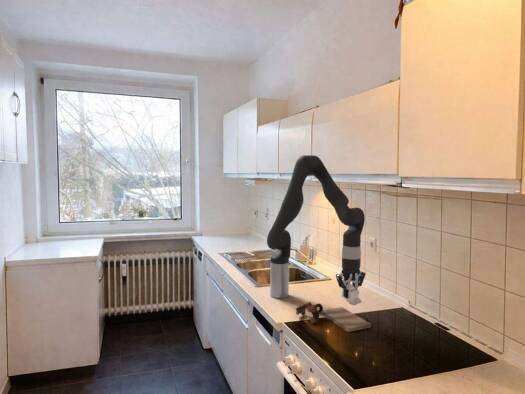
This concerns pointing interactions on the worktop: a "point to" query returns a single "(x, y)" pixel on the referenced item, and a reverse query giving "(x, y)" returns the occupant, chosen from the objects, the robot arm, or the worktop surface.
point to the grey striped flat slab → (345, 319)
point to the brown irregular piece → (311, 309)
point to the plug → (352, 295)
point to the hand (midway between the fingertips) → (350, 296)
